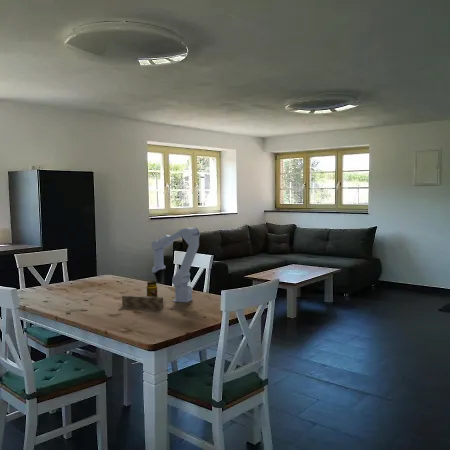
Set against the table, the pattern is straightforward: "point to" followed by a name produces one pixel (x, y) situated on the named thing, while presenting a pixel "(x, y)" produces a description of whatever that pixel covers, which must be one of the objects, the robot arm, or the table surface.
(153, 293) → the condiment
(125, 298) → the board
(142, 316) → the table surface
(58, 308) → the table surface
